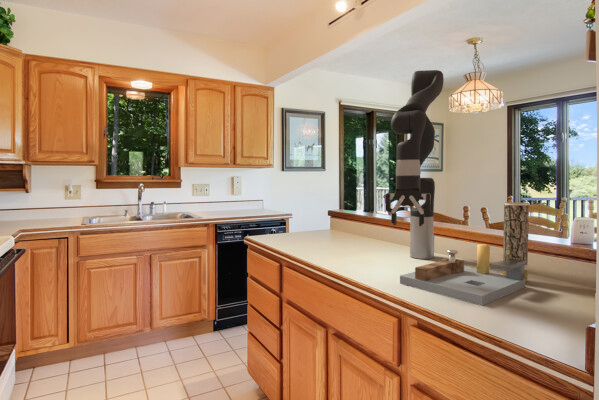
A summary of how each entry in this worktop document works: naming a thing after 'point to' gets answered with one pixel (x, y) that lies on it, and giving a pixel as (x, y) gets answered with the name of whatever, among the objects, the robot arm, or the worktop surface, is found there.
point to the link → (439, 269)
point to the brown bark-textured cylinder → (516, 233)
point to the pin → (483, 258)
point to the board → (467, 285)
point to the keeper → (511, 268)
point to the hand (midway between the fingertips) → (407, 225)
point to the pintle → (452, 255)
